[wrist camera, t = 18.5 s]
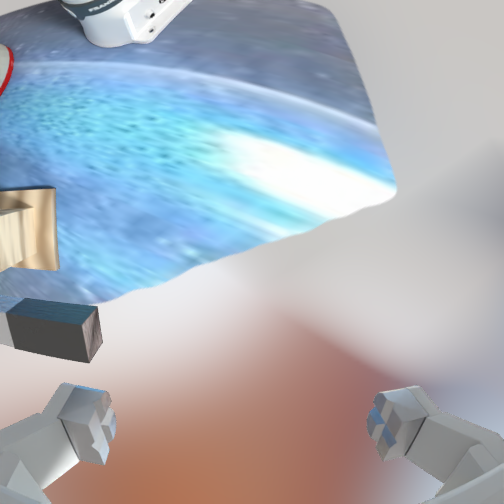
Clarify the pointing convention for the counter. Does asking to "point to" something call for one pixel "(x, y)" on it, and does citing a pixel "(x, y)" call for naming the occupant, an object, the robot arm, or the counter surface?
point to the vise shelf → (28, 229)
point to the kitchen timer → (5, 66)
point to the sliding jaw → (50, 328)
